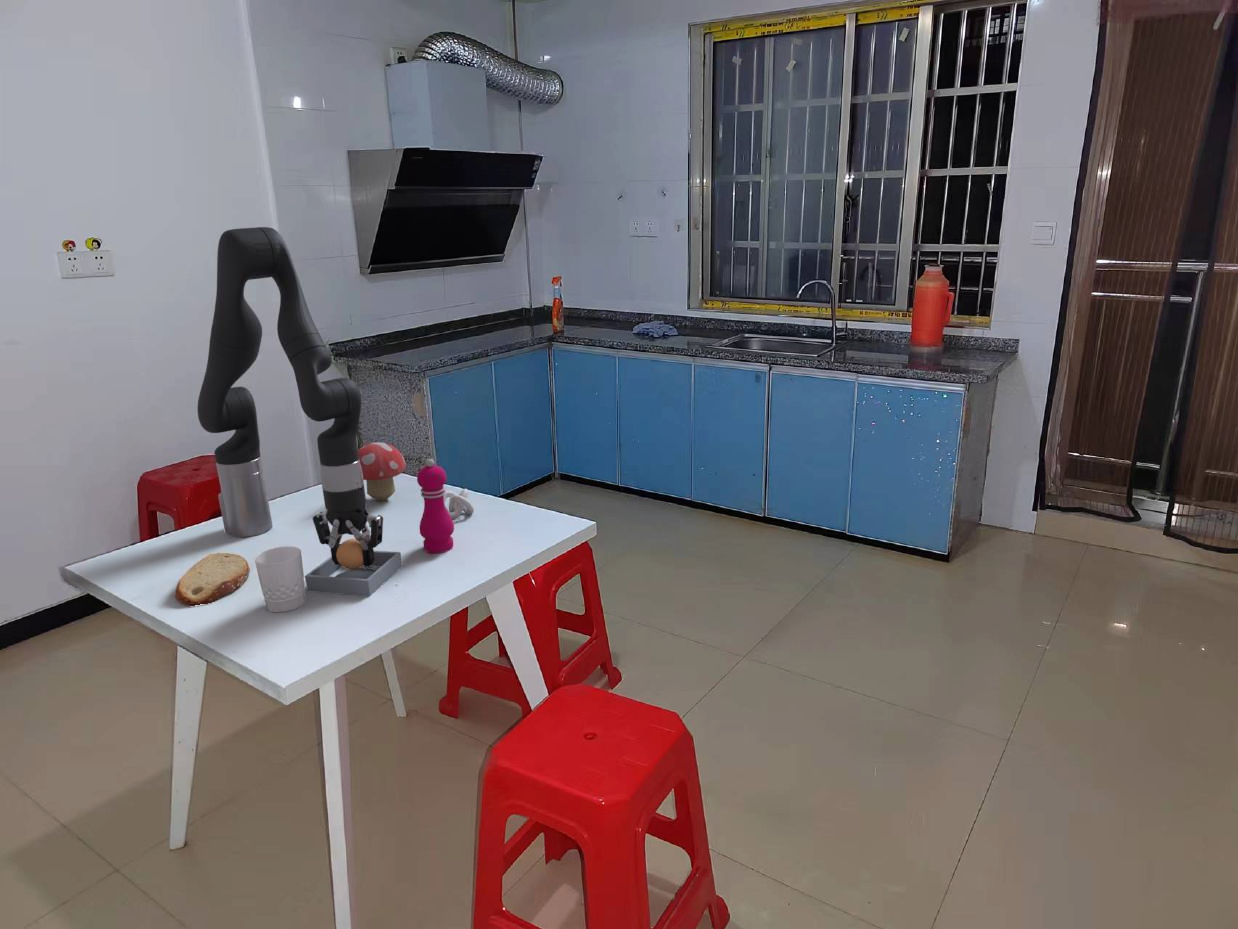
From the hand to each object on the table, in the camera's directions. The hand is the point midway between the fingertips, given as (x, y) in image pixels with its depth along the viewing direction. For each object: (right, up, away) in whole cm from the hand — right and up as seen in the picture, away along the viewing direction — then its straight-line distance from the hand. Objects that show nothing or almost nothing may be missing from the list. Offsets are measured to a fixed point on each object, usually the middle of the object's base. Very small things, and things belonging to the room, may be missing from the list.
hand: (354, 564), depth 155 cm
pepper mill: (+13, +2, +15) cm, 20 cm away
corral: (0, -3, +1) cm, 3 cm away
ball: (0, +2, -1) cm, 2 cm away
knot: (+13, +7, +33) cm, 37 cm away
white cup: (-10, -7, -9) cm, 15 cm away
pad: (0, -3, +1) cm, 3 cm away
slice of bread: (-29, -4, +2) cm, 29 cm away
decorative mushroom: (-8, +10, +44) cm, 46 cm away
